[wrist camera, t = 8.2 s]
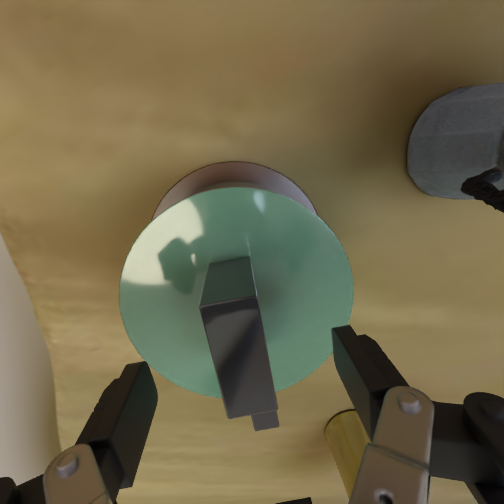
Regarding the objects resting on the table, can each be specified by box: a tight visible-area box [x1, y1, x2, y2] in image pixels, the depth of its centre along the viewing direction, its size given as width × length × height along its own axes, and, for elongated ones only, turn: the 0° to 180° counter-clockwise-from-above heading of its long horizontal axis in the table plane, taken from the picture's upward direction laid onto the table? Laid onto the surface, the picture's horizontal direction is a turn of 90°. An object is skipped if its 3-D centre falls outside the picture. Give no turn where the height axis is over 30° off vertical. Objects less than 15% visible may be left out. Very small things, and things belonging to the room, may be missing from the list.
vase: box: [325, 411, 371, 500], centre depth 28 cm, size 6×6×14 cm
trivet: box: [151, 162, 318, 221], centre depth 27 cm, size 16×16×1 cm
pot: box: [119, 181, 354, 431], centre depth 20 cm, size 19×14×15 cm
